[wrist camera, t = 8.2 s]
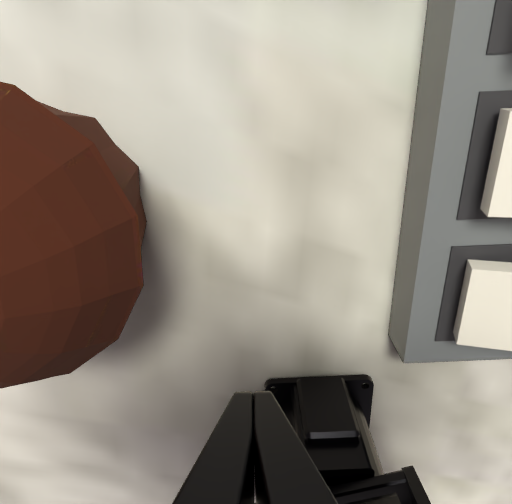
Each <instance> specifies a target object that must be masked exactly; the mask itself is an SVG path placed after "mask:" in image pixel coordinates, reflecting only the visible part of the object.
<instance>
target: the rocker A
mask: <svg viewBox="0 0 512 504" xmlns="http://www.w3.org/2000/svg"><path fill="white" fill-rule="evenodd" d="M453 334H454V337H455V341H456V344H458V345H466V346H474V347H482V348H490V349H498V350H506V351H512V263H511V262H498V261H484V260H470V259H468V260H467V265H466V270H465V275H464V280H463V285H462V290H461V295H460V300H459V305H458V310H457V315H456V320H455V325H454V330H453Z"/></svg>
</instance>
